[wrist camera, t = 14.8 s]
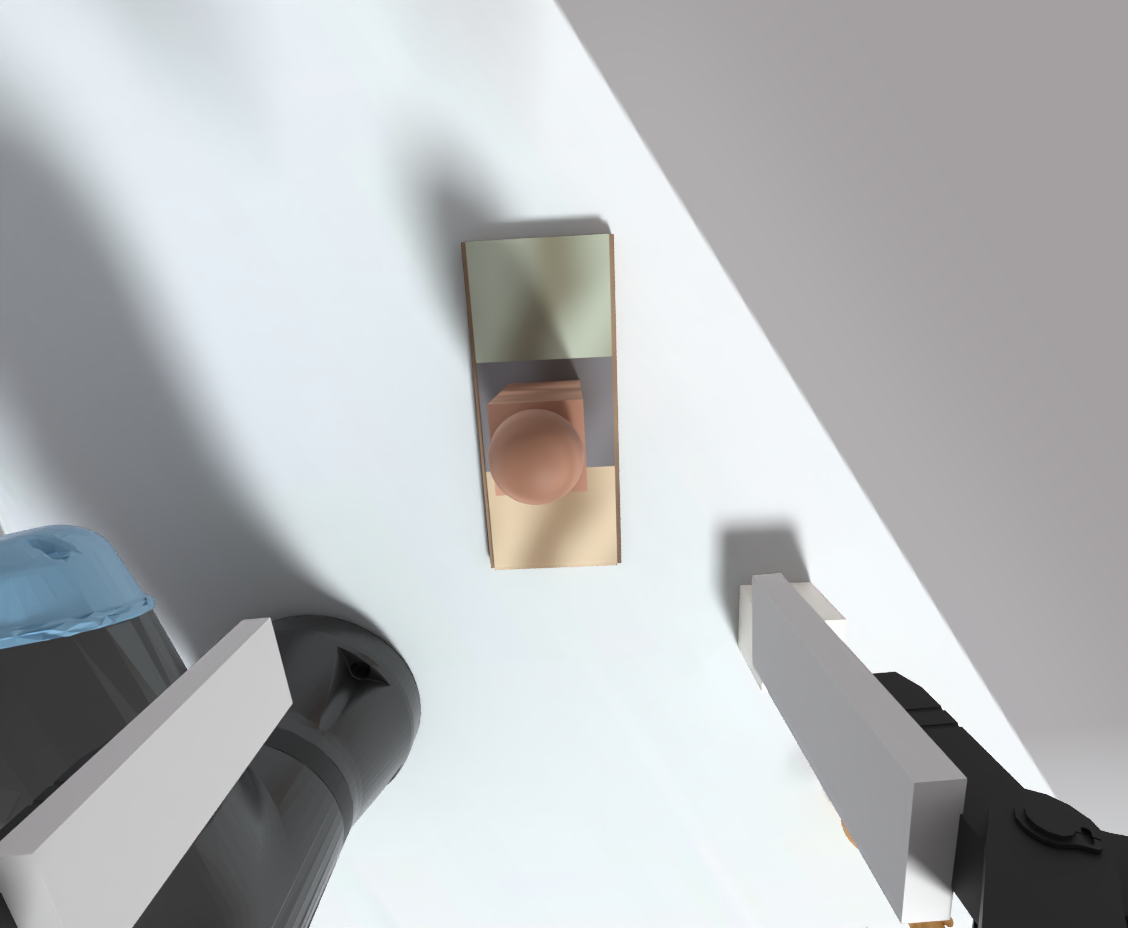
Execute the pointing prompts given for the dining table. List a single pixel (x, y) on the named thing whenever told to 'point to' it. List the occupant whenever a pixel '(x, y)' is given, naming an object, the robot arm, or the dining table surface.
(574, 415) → the pawn
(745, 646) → the die
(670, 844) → the dining table surface
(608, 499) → the board
